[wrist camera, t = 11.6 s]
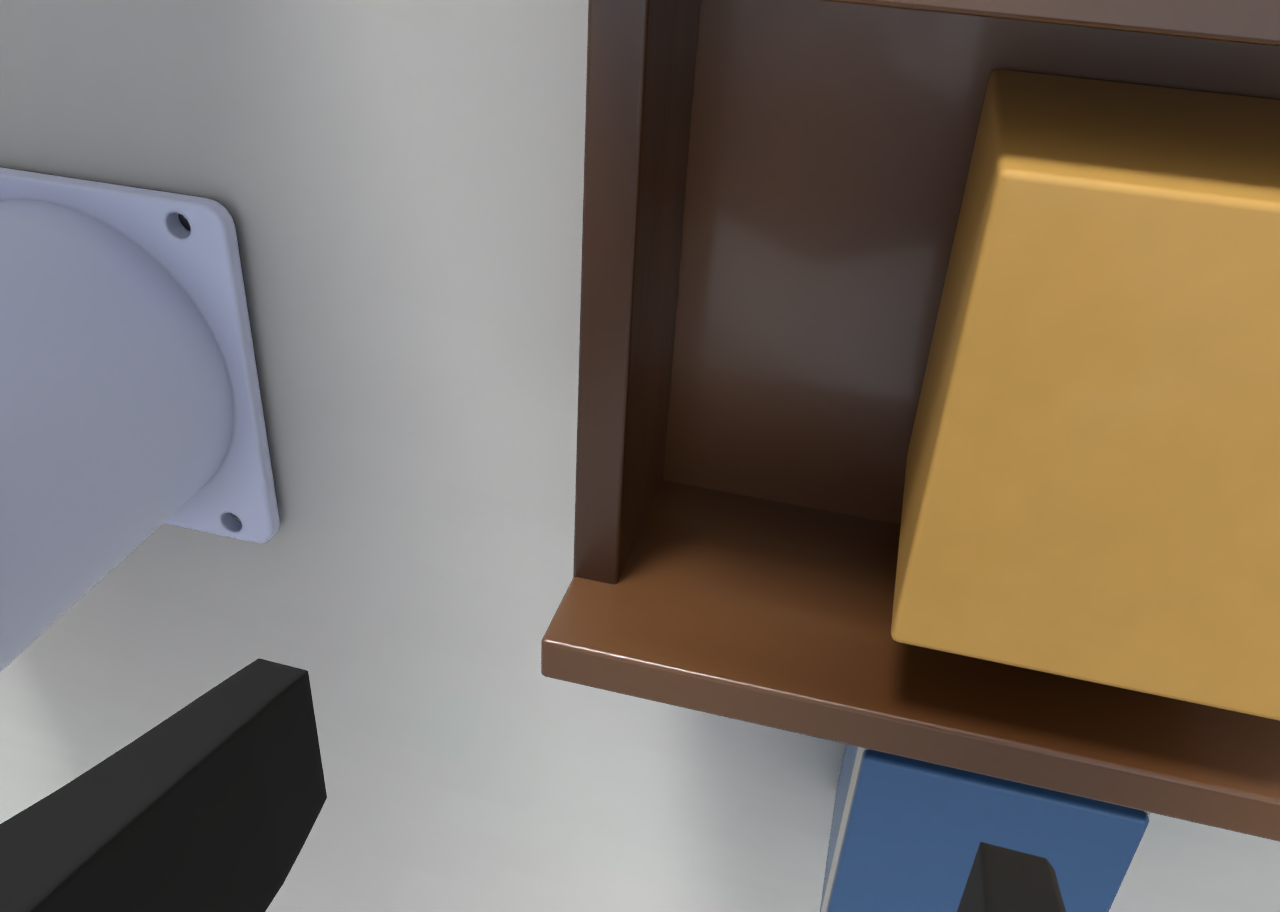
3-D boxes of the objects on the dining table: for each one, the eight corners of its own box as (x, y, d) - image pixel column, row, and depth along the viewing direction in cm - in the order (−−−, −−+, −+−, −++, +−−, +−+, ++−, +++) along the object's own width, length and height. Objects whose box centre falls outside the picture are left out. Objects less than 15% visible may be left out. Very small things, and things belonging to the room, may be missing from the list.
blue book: (834, 791, 25) (807, 989, 21) (882, 570, 22) (862, 755, 18) (1035, 838, 24) (1047, 1054, 20) (1117, 616, 21) (1153, 822, 17)
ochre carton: (906, 456, 17) (888, 643, 14) (991, 66, 14) (999, 169, 10) (1227, 512, 17) (1304, 729, 13) (1395, 110, 13) (1564, 239, 10)
